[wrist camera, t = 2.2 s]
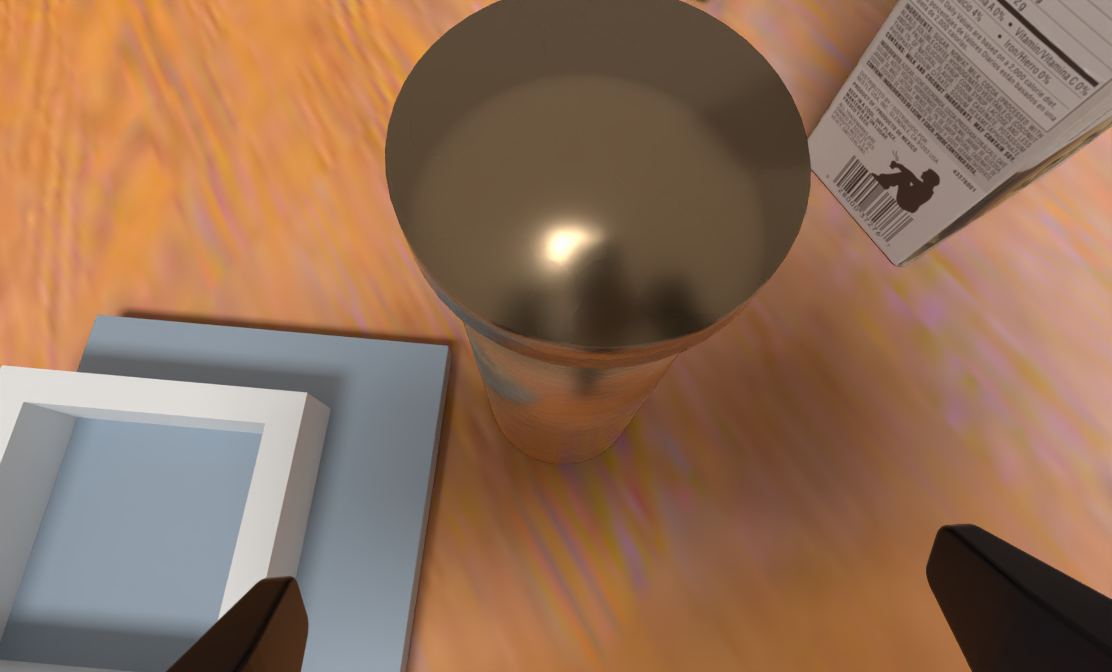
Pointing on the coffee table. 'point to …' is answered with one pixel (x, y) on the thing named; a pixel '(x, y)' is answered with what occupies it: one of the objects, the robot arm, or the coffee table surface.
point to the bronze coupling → (592, 199)
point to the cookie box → (962, 113)
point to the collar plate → (214, 492)
